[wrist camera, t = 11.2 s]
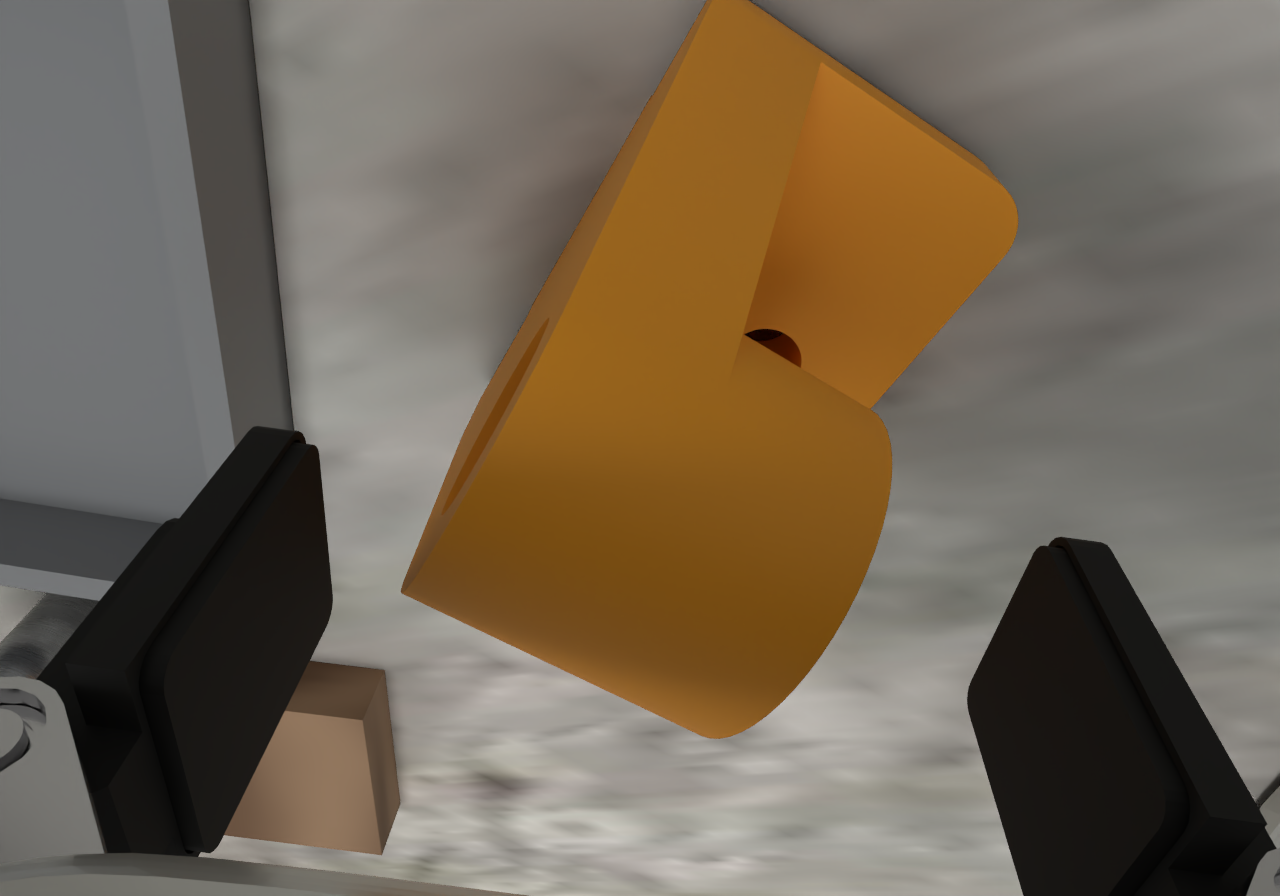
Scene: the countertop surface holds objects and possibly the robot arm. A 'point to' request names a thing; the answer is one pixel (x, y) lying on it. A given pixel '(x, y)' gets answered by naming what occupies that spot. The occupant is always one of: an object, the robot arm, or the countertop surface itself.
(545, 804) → the countertop surface
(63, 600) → the peg
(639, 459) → the bracket
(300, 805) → the tan slab
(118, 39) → the tray
